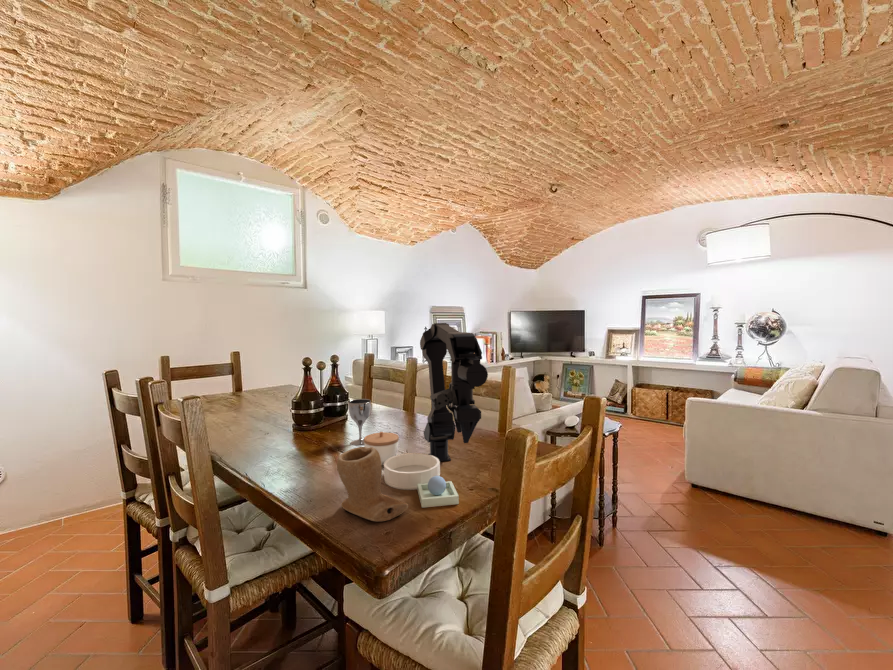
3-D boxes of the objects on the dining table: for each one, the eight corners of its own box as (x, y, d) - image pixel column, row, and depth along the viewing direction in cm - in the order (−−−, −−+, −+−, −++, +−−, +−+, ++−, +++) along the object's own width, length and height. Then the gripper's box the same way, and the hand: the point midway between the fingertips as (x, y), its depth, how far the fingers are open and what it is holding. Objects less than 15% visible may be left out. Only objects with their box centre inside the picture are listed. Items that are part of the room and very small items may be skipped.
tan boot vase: (327, 512, 97) (326, 449, 96) (368, 495, 106) (367, 437, 105) (368, 535, 87) (367, 465, 86) (409, 513, 96) (408, 450, 95)
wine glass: (373, 444, 147) (372, 402, 146) (351, 447, 144) (349, 404, 143) (369, 437, 154) (368, 398, 153) (347, 440, 151) (346, 399, 150)
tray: (417, 491, 108) (417, 484, 108) (451, 488, 109) (451, 481, 109) (421, 507, 99) (421, 499, 99) (458, 504, 100) (458, 495, 100)
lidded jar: (404, 457, 133) (403, 428, 133) (390, 469, 123) (390, 438, 123) (373, 454, 136) (373, 426, 136) (358, 466, 126) (357, 435, 125)
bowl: (383, 470, 123) (383, 455, 122) (435, 466, 125) (434, 451, 125) (385, 492, 107) (385, 475, 107) (444, 487, 110) (443, 470, 110)
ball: (444, 489, 107) (444, 472, 106) (447, 497, 102) (447, 479, 102) (426, 491, 106) (426, 473, 106) (429, 499, 101) (429, 480, 101)
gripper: (428, 375, 119) (428, 428, 120) (436, 387, 100) (437, 451, 101) (466, 374, 120) (466, 426, 121) (481, 386, 102) (481, 448, 103)
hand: (462, 437), depth 112 cm, fingers open, 9 cm apart
